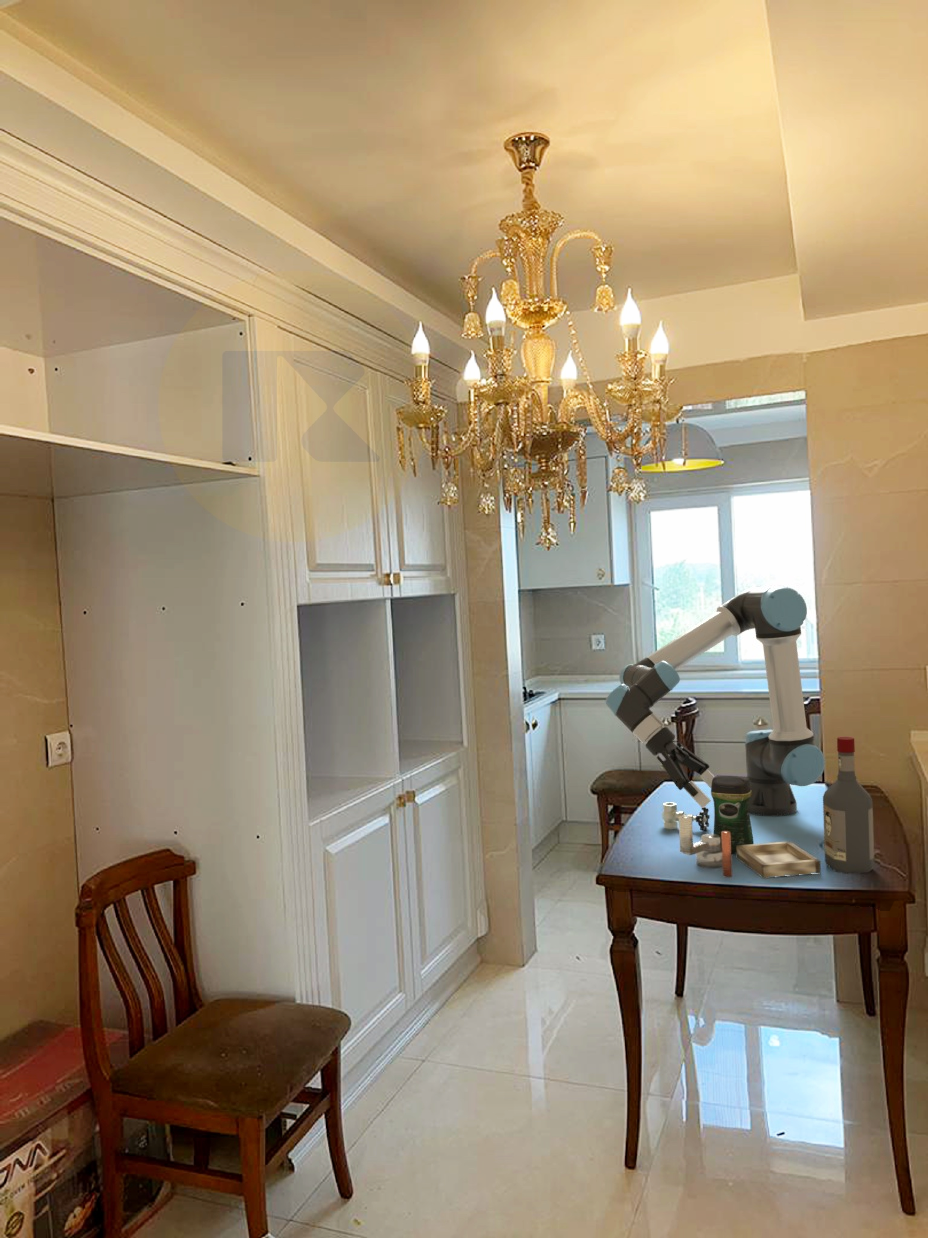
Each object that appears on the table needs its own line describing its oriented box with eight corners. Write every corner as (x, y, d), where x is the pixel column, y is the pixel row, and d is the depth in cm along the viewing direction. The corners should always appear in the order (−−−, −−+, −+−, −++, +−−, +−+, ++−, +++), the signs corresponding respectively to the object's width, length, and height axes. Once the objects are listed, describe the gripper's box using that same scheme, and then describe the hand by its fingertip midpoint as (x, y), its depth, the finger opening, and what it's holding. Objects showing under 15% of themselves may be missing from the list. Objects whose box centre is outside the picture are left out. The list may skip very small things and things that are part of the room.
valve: (659, 830, 246) (702, 835, 239) (658, 806, 245) (701, 810, 239) (667, 824, 251) (710, 828, 245) (666, 800, 251) (709, 804, 245)
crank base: (720, 858, 219) (718, 817, 219) (742, 876, 206) (741, 832, 205) (692, 860, 219) (690, 819, 218) (712, 878, 205) (711, 835, 205)
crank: (709, 845, 218) (707, 806, 218) (724, 849, 215) (723, 809, 214) (675, 857, 211) (673, 816, 210) (690, 861, 207) (688, 820, 207)
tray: (789, 853, 220) (789, 841, 220) (820, 873, 205) (820, 860, 204) (736, 857, 219) (736, 845, 219) (763, 878, 203) (763, 865, 203)
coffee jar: (756, 847, 226) (753, 773, 226) (750, 856, 219) (748, 780, 219) (716, 843, 231) (714, 771, 230) (710, 852, 224) (707, 778, 223)
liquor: (859, 860, 213) (856, 733, 211) (878, 872, 204) (874, 740, 202) (821, 862, 213) (817, 735, 211) (838, 875, 203) (834, 742, 202)
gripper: (660, 736, 245) (717, 796, 238) (627, 754, 224) (689, 820, 217) (679, 718, 242) (737, 777, 235) (647, 734, 221) (710, 800, 214)
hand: (714, 798), depth 226 cm, fingers open, 13 cm apart
